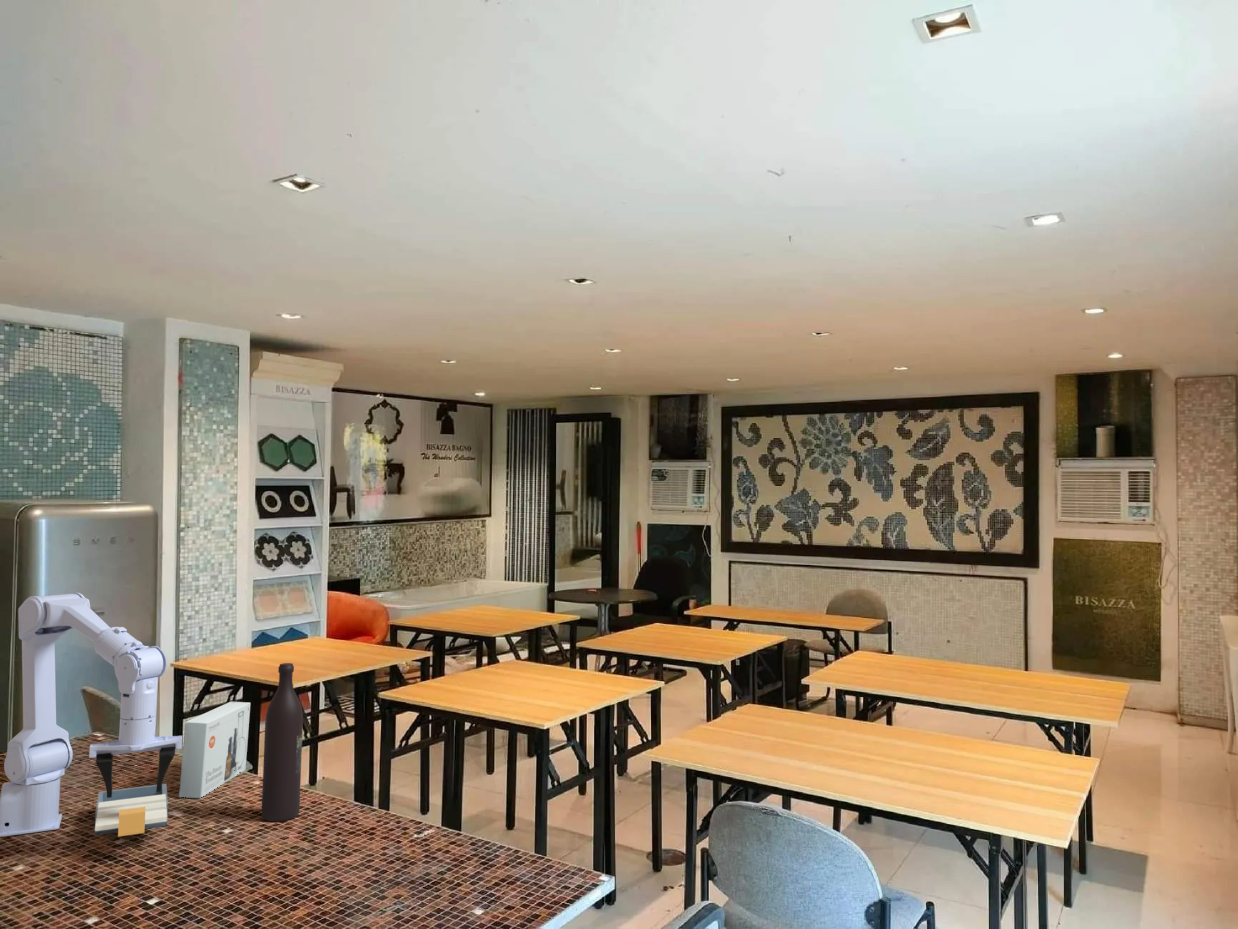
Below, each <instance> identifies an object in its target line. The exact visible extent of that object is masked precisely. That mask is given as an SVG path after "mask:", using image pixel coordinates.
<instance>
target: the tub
mask: <svg viewBox="0 0 1238 929" xmlns="http://www.w3.org/2000/svg"><path fill="white" fill-rule="evenodd" d="M156 787H157V784H152V785H145V786H144V785H143V786H136V787H135V786H134V787H128V788H121V789H120V788H119V789H118V788H117V789H112V797H111V798H107V791H106V790H103V791H102V790H101V791H98V795H97V801H96V806H95V807H96V808H95V813H94V826H95V825H96V818H97V811H98V805H99V802H106V801H114V800H122V799H130V798H138V797H146V796H154V795H162V794H166V806H167V816H168V812H169V811H168V810H169V801H168V800H169V799H168V790H167V788H168V787H167V783H162V787H161V791H160V792H156ZM166 825H167V826H168V820H167V821H166V822H158V823H151V824H145V829H152V828H159V827H165V826H166ZM93 830H94V834H93V835H94V837H95V836H101V835H109V834H115V833H116V834H117V833H118V828H115V829H108V830H101V831H95V829H93Z"/></svg>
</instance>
